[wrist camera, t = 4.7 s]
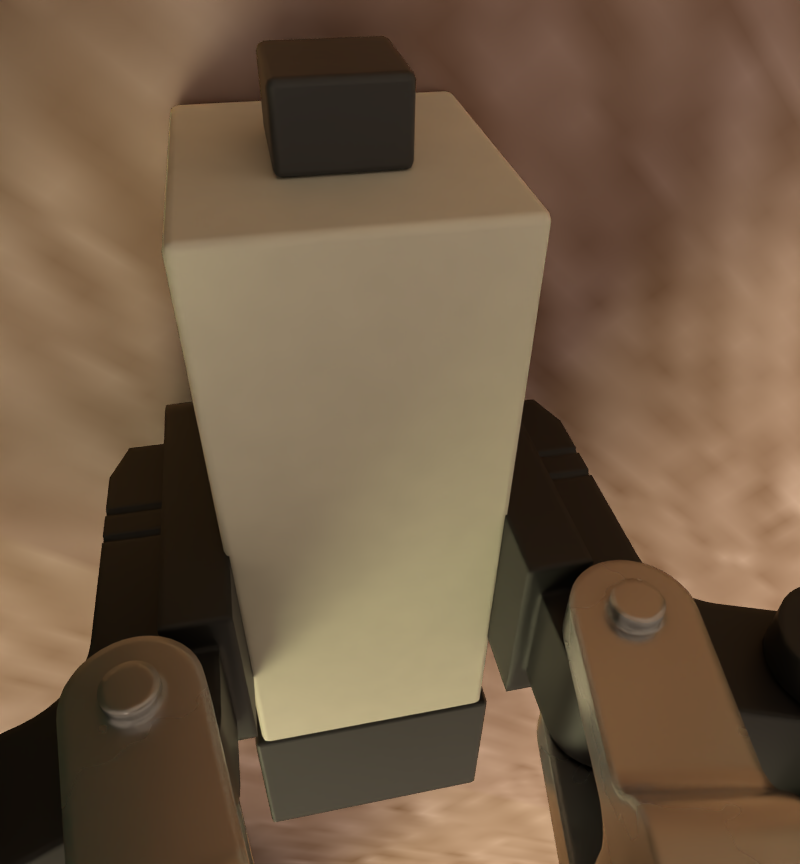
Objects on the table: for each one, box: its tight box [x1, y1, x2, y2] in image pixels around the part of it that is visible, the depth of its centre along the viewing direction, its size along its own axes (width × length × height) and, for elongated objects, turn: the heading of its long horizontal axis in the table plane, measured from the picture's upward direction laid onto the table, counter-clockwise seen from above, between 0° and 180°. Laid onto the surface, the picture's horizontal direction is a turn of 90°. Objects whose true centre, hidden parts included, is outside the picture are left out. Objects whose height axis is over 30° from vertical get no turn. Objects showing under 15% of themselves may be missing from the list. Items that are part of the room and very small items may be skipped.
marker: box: [162, 36, 551, 822], centre depth 10 cm, size 10×3×3 cm, turn 179°
